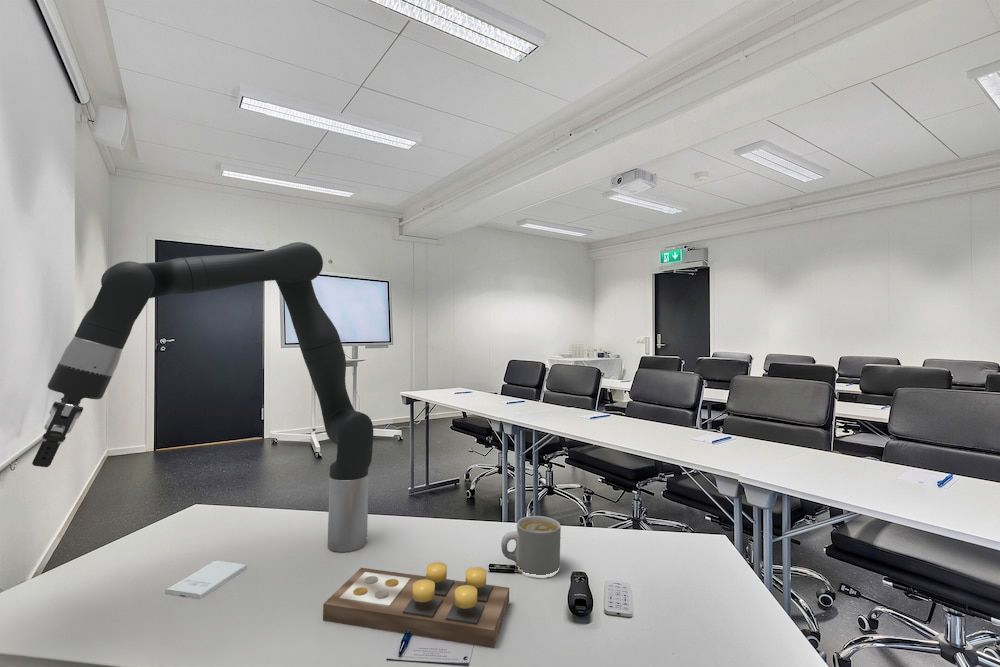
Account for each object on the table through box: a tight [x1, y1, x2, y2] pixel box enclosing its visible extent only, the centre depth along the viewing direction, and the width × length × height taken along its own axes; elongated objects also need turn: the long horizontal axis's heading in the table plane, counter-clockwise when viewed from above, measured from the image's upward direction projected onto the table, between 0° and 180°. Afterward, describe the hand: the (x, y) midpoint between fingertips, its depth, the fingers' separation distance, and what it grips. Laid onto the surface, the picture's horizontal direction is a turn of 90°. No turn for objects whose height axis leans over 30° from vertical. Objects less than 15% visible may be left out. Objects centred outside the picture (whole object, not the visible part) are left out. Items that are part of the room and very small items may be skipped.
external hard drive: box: [164, 560, 247, 600], centre depth 99 cm, size 2×8×12 cm
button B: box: [412, 579, 435, 602], centre depth 86 cm, size 4×4×2 cm
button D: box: [455, 585, 477, 609], centre depth 85 cm, size 4×4×2 cm
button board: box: [322, 567, 510, 649], centre depth 90 cm, size 14×32×4 cm, turn 78°
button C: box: [464, 566, 487, 588], centre depth 91 cm, size 4×4×2 cm
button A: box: [425, 561, 448, 582], centre depth 93 cm, size 4×4×2 cm
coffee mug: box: [500, 515, 562, 575], centre depth 108 cm, size 13×10×10 cm
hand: (42, 461), depth 79 cm, fingers open, 8 cm apart
